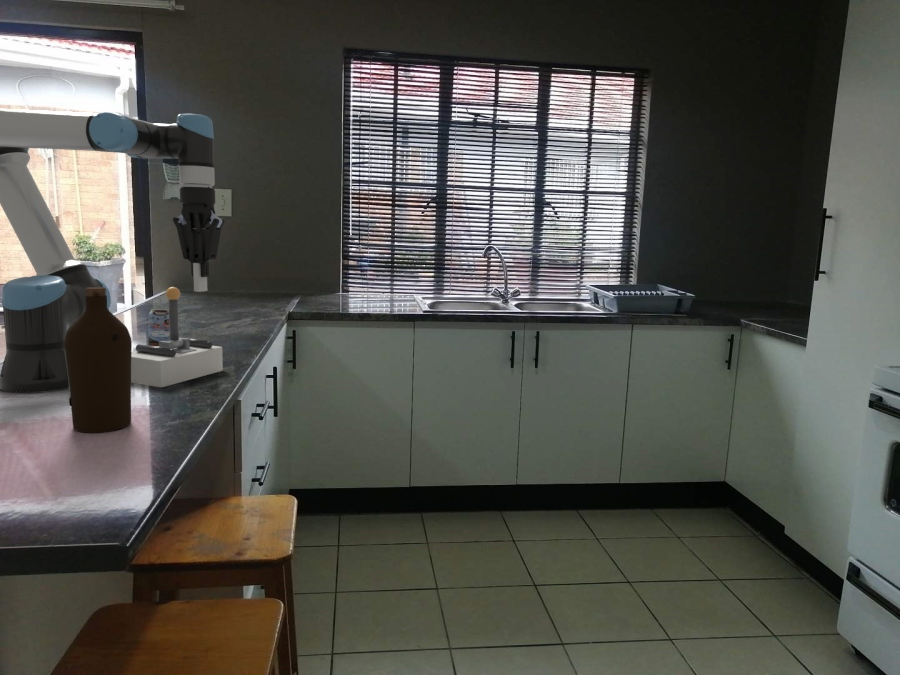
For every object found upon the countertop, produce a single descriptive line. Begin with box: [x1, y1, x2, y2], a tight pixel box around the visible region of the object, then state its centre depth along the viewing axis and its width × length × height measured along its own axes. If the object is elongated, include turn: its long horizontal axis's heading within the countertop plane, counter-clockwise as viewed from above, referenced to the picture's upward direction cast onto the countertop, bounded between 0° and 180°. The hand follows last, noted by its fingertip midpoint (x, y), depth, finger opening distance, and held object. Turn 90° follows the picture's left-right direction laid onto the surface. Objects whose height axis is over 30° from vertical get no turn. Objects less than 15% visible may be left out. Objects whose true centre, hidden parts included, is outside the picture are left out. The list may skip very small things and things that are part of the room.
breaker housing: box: [131, 336, 224, 388], centre depth 161 cm, size 20×13×8 cm, turn 158°
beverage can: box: [147, 308, 170, 347], centre depth 188 cm, size 6×7×12 cm
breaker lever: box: [165, 286, 183, 348], centre depth 161 cm, size 4×3×15 cm
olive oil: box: [64, 287, 133, 434], centre depth 121 cm, size 11×11×25 cm
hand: (200, 291), depth 156 cm, fingers closed
